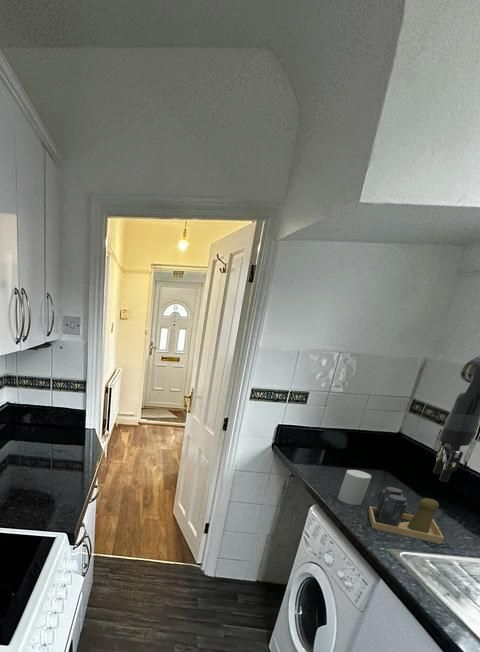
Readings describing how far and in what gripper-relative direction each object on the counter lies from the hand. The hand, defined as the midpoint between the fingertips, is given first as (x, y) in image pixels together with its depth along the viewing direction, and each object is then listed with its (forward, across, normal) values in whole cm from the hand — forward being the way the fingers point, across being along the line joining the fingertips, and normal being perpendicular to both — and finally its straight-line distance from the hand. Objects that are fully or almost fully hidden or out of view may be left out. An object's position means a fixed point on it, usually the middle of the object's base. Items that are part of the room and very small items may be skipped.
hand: (439, 477), depth 132 cm
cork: (+19, 0, 0) cm, 19 cm away
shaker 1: (+19, +4, +10) cm, 22 cm away
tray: (+19, 0, +5) cm, 20 cm away
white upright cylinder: (+19, +14, +20) cm, 31 cm away
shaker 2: (+19, -4, +10) cm, 22 cm away
